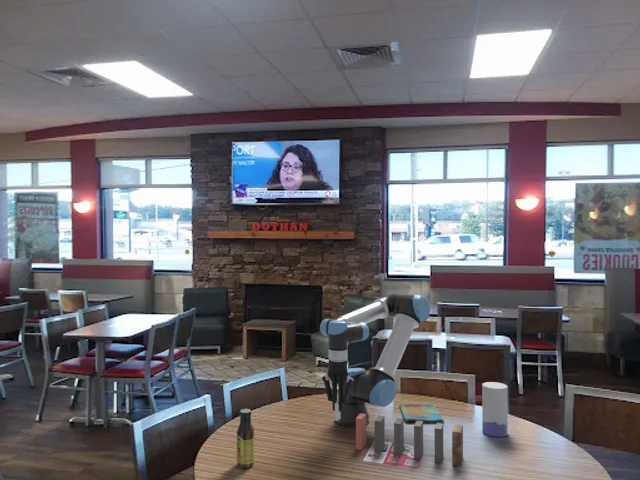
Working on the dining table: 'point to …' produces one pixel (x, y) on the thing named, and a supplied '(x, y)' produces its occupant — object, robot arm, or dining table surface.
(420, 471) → the dining table surface
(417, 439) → the domino
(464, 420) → the dining table surface
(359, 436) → the red domino
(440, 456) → the domino
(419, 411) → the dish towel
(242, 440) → the sauce bottle
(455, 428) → the end stop
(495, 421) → the container
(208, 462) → the dining table surface
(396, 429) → the domino
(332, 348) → the robot arm
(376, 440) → the domino
